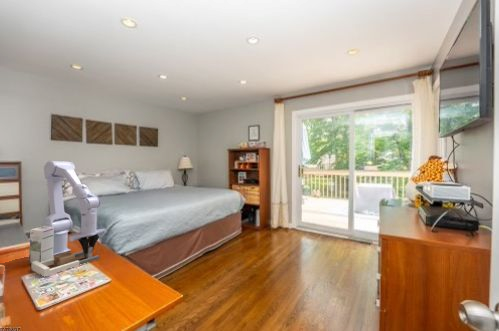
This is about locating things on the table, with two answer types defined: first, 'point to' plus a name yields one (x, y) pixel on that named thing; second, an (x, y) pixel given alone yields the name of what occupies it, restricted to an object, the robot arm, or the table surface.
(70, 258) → the lopsided dumbbell
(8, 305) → the table surface
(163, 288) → the table surface
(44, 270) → the frame
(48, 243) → the syrup box
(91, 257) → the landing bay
